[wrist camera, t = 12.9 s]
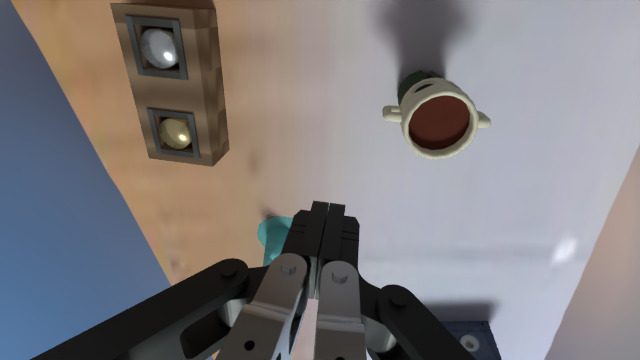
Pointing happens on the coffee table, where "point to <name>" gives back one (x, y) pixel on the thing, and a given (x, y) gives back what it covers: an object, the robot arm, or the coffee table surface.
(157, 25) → the walnut block
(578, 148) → the coffee table surface
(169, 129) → the brass peg
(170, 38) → the steel peg
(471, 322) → the vhs cassette tape
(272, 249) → the diorama
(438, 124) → the character mug
